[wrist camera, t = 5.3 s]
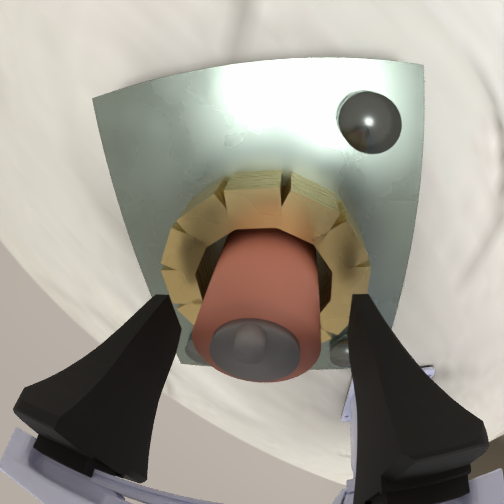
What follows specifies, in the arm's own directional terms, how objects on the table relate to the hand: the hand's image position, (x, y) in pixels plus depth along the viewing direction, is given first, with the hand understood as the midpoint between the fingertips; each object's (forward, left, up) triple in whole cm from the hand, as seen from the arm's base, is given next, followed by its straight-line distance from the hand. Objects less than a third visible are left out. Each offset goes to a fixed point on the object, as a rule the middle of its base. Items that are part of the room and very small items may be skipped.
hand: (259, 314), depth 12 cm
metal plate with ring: (0, 0, -7) cm, 7 cm away
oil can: (0, 0, -5) cm, 5 cm away
